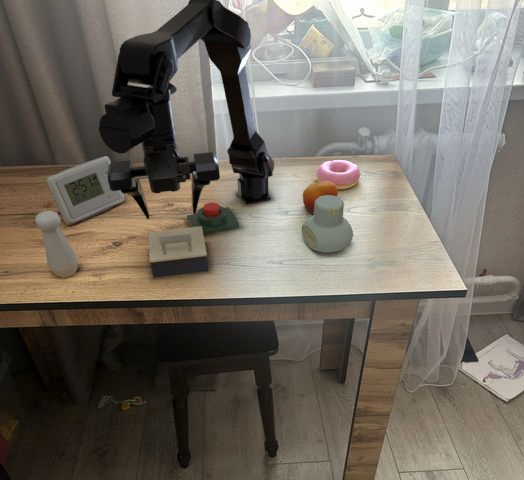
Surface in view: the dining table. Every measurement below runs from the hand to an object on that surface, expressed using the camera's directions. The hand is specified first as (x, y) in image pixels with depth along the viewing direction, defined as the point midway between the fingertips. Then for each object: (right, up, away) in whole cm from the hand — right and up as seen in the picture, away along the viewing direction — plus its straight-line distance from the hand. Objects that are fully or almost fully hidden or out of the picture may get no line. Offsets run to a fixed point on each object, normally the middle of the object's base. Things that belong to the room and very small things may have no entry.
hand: (171, 215), depth 93 cm
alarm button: (+5, +6, +20) cm, 21 cm away
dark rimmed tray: (0, -6, +11) cm, 13 cm away
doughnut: (+36, +18, +35) cm, 53 cm away
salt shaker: (-23, -9, +10) cm, 27 cm away
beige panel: (0, -4, +8) cm, 9 cm away
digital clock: (-24, +8, +27) cm, 37 cm away
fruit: (+30, +8, +25) cm, 40 cm away
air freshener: (+30, -3, +14) cm, 34 cm away
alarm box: (+6, +4, +22) cm, 23 cm away
